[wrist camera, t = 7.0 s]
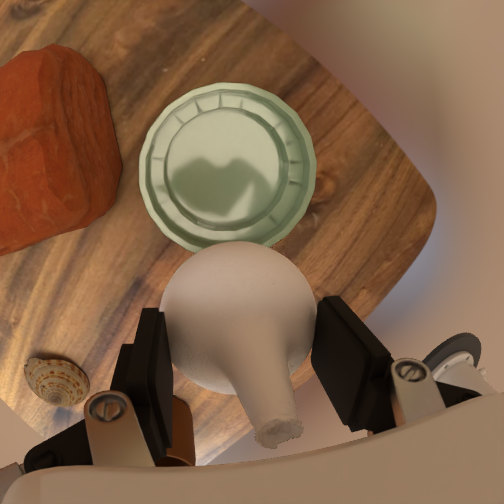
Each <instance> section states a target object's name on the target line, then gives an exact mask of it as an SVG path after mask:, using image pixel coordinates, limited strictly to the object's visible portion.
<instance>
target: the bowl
mask: <svg viewBox="0 0 504 504" xmlns="http://www.w3.org/2000/svg"><path fill="white" fill-rule="evenodd" d="M316 168H317V161H316V156H315V152H314V148H313V143H312V139H311V136H310V134H309V132H308V131H307V129H306V127H305V126H304V124H303V122H302V121H301V119H300V117H299V116H298V114H297V113H296V112H295V111H294V110H293V109H292V108H291V107H289V106H288V105H287V104H286V103H285V102H284V101H282V100H281V99H280V98H279V97H278V96H276V95H275V94H272V93H270V92H268V91H265V90H263V89H260V88H258V87H255V86H253V85H250V84H243V83H227V82H219V83H215V84H211V85H207V86H203V87H200V88H196V89H192V90H190V91H189V92H187V93H186V94H184V95H183V96H181V97H180V98H178V99H176V100H175V101H173V102H172V103H171V104H169V105H168V106H167V107H166V108H165V109H164V110H163V111H162V113H161V114H160V115H159V116H158V118H157V119H156V120H155V122H154V123H153V124H152V125H151V127H150V128H149V130H148V132H147V135H146V138H145V140H144V143H143V146H142V149H141V152H140V155H139V189H140V192H141V195H142V198H143V201H144V204H145V207H146V209H147V212H148V214H149V215H150V217H151V218H152V219H153V221H154V222H155V223H156V224H157V226H158V227H159V228H160V230H161V231H162V232H163V234H165V236H167V237H168V238H170V239H171V240H173V241H174V242H176V243H177V244H178V245H180V246H181V247H183V248H184V249H186V250H188V251H191V252H194V253H197V252H199V251H201V250H203V249H205V248H207V247H209V246H212V245H216V244H218V243H225V242H232V241H245V242H252V243H257V244H259V245H263V246H266V247H268V248H269V247H271V246H272V245H274V244H275V243H277V242H278V241H279V240H281V239H282V238H284V237H285V236H287V235H288V234H289V233H290V231H291V230H292V229H293V228H294V226H295V225H296V224H297V223H298V222H299V220H300V219H301V218H302V217H303V215H304V214H305V212H306V209H307V207H308V204H309V202H310V200H311V197H312V195H313V192H314V189H315V180H316Z"/></svg>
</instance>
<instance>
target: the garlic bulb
mask: <svg viewBox="0 0 504 504" xmlns="http://www.w3.org/2000/svg"><path fill="white" fill-rule="evenodd" d="M162 311H164V314H165V321H166V329H167V336H168V343H169V350H170V356H171V361H172V363H173V364H174V365H175V367H176V368H177V369H178V370H179V371H180V372H181V373H182V374H183V375H184V376H185V377H187V378H188V379H189V380H190V381H192V382H193V383H195V384H197V385H199V386H201V387H203V388H205V389H208V390H211V391H214V392H217V393H222V394H229V395H237V396H238V397H239V399H240V402H241V404H242V405H243V408H244V409H245V412H246V414H247V416H248V417H249V420H250V421H251V423H252V425H253V426H254V429H255V432H256V433H255V440H256V442H257V443H258V444H260V445H261V446H262V447H265V448H271V449H276V448H277V444H279V443H281V442H284V441H288V440H289V439H291V438H292V439H294V438H298V437H300V436H301V434H302V433H303V425H302V422H301V421H299V420H298V419H297V414H296V403H295V397H294V393H293V388H292V384H291V379H290V376H291V375H292V374H293V373H294V372H295V371H296V370H297V369H298V368H299V367H300V365H301V364H302V363H303V361H304V360H305V358H306V357H307V355H308V354H309V352H310V350H311V347H312V345H313V340H314V334H315V323H316V315H317V308H316V302H315V298H314V295H313V292H312V290H311V288H310V286H309V283H308V281H307V280H306V278H305V277H304V275H303V274H302V273H301V272H300V270H299V269H298V268H297V267H296V266H295V265H294V264H293V263H292V262H291V261H290V260H289V259H287V258H286V257H284V256H283V255H282V254H280V253H278V252H276V251H275V250H273V249H270V248H268V247H266V246H263V245H259V244H257V243H252V242H245V241H232V242H225V243H218V244H216V245H212V246H209V247H207V248H205V249H203V250H201V251H199V252H197V253H196V254H194V255H193V256H191V257H190V258H188V260H186V261H185V262H184V263H183V264H182V265H181V266H180V267H179V268H178V269H177V270H176V272H175V273H174V275H173V276H172V278H171V279H170V281H169V282H168V284H167V286H166V289H165V291H164V293H163V296H162V300H161V304H160V310H159V312H162Z"/></svg>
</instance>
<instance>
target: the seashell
mask: <svg viewBox="0 0 504 504" xmlns="http://www.w3.org/2000/svg"><path fill="white" fill-rule="evenodd" d="M24 373H25V377H26V380H27V383H28V385H29V387H30V388H31V390H33V392H34V393H35V394H36V395H37V396H38V397H40V398H41V399H43V400H44V401H45V402H47V403H49V404H51V405H54V406H59V407H68V406H73V405H76V404H78V403H80V402H82V401H83V400H84V399H85V397H86V396H87V394H88V392H89V382H88V379H87V377H86V376H85V374H84V373H83V372H82V371H81V370H80V369H79V368H77V367H76V366H75V365H73V364H71V363H69V362H67V361H64V360H56V359H51V360H41V359H39V358H34V357H32V358H30V360H29V361H28V364H27V365H24Z"/></svg>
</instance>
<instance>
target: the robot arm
mask: <svg viewBox="0 0 504 504" xmlns="http://www.w3.org/2000/svg"><path fill="white" fill-rule="evenodd" d="M311 364H312V367H313V369H314V371H315V372H316V374H317V376H318V378H319V380H320V382H321V384H322V386H323V387H324V389H325V391H326V393H327V395H328V397H329V399H330V401H331V402H332V404H333V406H334V408H335V410H336V412H337V414H338V416H339V417H340V419H341V421H342V423H343V424H344V425H348V427H349V428H350V430H351V432H355V431H359V430H362V429H366V430H368V437H365V438H361V439H358V440H354V441H350V442H347V443H343V444H339V445H335V446H331V447H327V448H322V449H318V450H314V451H309V452H304V453H299V454H294V455H288V456H282V457H276V458H270V459H264V460H256V461H248V462H240V463H230V464H219V465H206V466H185V467H156V466H155V464H154V463H155V462H157V461H158V460H159V459H161V458H162V457H167V448H172V446H173V434H172V430H173V369H172V362H171V356H170V350H169V343H168V336H167V329H166V321H165V314H164V311H162V312H159V309H158V308H143V309H142V312H141V316H140V320H139V324H138V328H137V332H136V336H135V340H134V344H122V346H121V349H120V353H119V356H118V360H117V364H116V367H115V371H114V375H113V379H112V383H111V386H110V390H107V391H102V392H98V393H96V394H94V395H93V396H91V397H90V398H89V399H88V400H87V401H86V403H85V405H84V417H85V419H83V420H81V421H80V422H78V423H76V424H74V425H73V426H71V427H69V428H67V429H66V430H64V431H62V432H60V433H59V434H57V435H55V436H53V437H51V438H49V439H48V440H46V441H44V442H42V443H41V444H39V445H37V446H35V447H33V448H32V449H31V450H29V452H28V453H27V454H26V456H25V459H24V463H23V464H20V465H18V463H17V462H15V463H13V464H10V465H8V466H6V467H4V468H2V469H0V504H504V393H498V392H497V391H496V390H494V389H493V388H492V387H491V386H490V385H489V384H488V383H487V382H486V377H485V376H484V375H485V374H486V372H487V371H486V368H482V369H479V370H477V369H476V368H475V367H474V366H473V356H472V355H471V354H470V353H468V352H467V351H459V352H456V353H454V354H452V355H450V356H449V357H447V358H446V359H444V360H443V361H442V362H441V363H440V364H439V365H438V366H437V367H436V368H435V369H434V370H433V371H432V372H431V371H430V369H429V368H428V366H427V365H425V364H424V363H423V362H421V361H419V360H416V359H412V358H401V359H398V360H396V361H394V360H393V358H392V357H391V354H390V352H389V351H388V350H387V349H386V348H385V347H384V346H383V344H382V343H381V342H380V341H379V340H378V339H377V338H376V336H375V335H373V333H372V332H371V331H370V330H369V329H368V327H366V325H365V324H364V323H363V322H362V321H361V320H360V319H359V317H358V316H357V315H356V314H355V313H354V312H353V311H352V310H351V309H350V307H349V306H348V305H347V304H346V303H345V302H344V301H343V300H342V299H341V298H340V296H327V297H323V299H322V301H319V302H318V307H317V315H316V323H315V334H314V340H313V345H312V352H311Z"/></svg>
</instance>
